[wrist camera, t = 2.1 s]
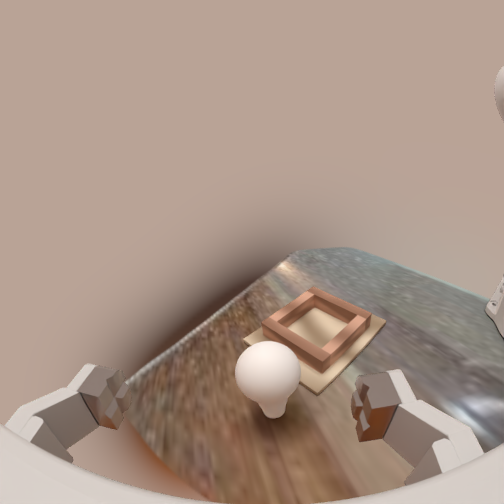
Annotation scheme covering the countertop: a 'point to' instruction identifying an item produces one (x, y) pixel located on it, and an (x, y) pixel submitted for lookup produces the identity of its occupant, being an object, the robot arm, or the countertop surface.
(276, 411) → the lightbulb
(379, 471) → the countertop surface
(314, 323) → the socket block
